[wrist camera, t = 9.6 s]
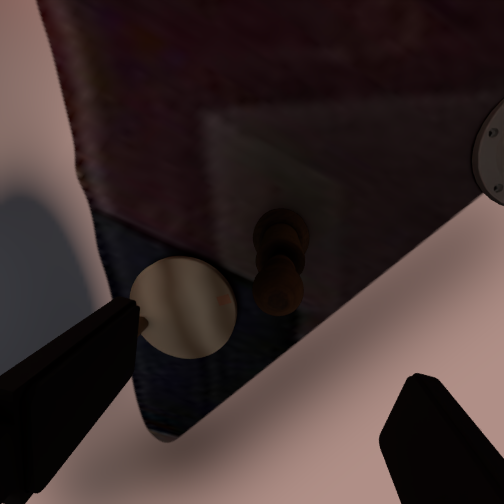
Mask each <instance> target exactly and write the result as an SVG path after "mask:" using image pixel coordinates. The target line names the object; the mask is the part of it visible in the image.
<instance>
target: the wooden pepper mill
mask: <svg viewBox="0 0 504 504" xmlns="http://www.w3.org/2000/svg"><path fill="white" fill-rule="evenodd" d="M253 243H254V247H255V249H256V251H257V255H256V266H257V269H258V271H259V273H258V274H257V276H256V277H255V280H254V282H253V290H252V291H253V297H254V300H255V302H256V304H257V305H258V307H259V308H260V309H261V310H263V311H264V312H266V313H267V314H270V315H273V316H284V315H287V314H290V313H292V312H293V311H294V310H296V309H297V307H298V306H299V305H300V303H301V301H302V298H303V293H304V288H303V282H302V280H301V278H300V276H299V275H300V274H301V273H302V271H303V269H304V266H305V256H304V254H305V252H306V250H307V248H308V244H309V232H308V229H307V226H306V224H305V223H304V221H303V219H302V218H301V217H300V216H299V215H298V214H296V213H295V212H293V211H291V210H288V209H274V210H271V211H269V212H267V213H265V214H264V215H263V216H262V217H261V218H260V219H259V221H258V223H257V224H256V226H255V229H254V233H253Z"/></svg>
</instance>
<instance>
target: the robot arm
mask: <svg viewBox="0 0 504 504" xmlns="http://www.w3.org/2000/svg"><path fill="white" fill-rule="evenodd" d="M472 166H473V173H474V176H475V179H476V182H477V184H478V185H479V187H480V189H481V190H482V192H483V193H484V194H485V195H486V196H488V197H489V198H490V199H491V200H493V201H495V202H496V203H498V204H499V205H502V206H504V99H503V100H502V101H501V102H500V103H499V104H498V105H497V106H496V107H495V108H494V109H493V110H492V111H491V113H490V114H489V116H488V117H487V118H486V120H485V121H484V123H483V125H482V127H481V129H480V131H479V133H478V135H477V137H476V141H475V144H474V147H473V155H472ZM139 317H140V306H138V305H137V303H136V301H135V300H132V299H128V298H124V297H116V298H115V299H113V300H112V301H110V302H109V303H107V304H106V305H104V306H103V307H101V308H100V309H98V310H97V311H95V312H94V313H92V314H91V315H89V316H88V317H87V318H85V319H84V320H82V321H81V322H79V323H78V324H76V325H75V326H73V327H72V328H70V329H69V330H67V331H66V332H64V333H63V334H61V335H60V336H58V337H57V338H55V339H54V340H52V341H51V342H50V343H48V344H47V345H45V346H44V347H42V348H41V349H39V350H38V351H36V352H35V353H33V354H32V355H30V356H29V357H27V358H26V359H24V360H23V361H21V362H20V363H18V364H17V365H15V366H14V367H13V368H11V369H10V370H8V371H7V372H5V373H4V374H2V375H1V376H0V504H2V503H4V504H25V503H26V502H27V501H28V499H29V498H30V497H31V496H32V494H33V493H39V492H41V491H42V490H43V489H44V488H45V487H46V485H47V484H48V483H49V482H50V481H51V479H52V478H53V477H54V476H55V474H56V473H57V471H58V470H59V469H60V468H61V467H62V465H63V464H64V463H65V461H66V460H67V459H68V458H69V456H70V455H71V454H72V452H73V451H74V450H75V449H76V447H77V446H78V445H79V444H80V442H81V441H82V440H83V438H84V437H85V436H86V434H87V433H88V432H89V431H90V429H91V428H92V427H93V426H94V424H95V423H96V422H97V420H98V419H99V418H100V417H101V415H102V414H103V413H104V412H105V410H106V409H107V408H108V406H109V405H110V404H111V403H112V401H113V400H114V399H115V397H116V396H117V395H118V393H119V392H120V391H121V389H122V388H123V387H124V386H125V384H126V383H127V382H128V381H129V379H130V378H131V376H132V374H133V371H134V367H135V357H136V347H137V337H138V327H139ZM379 445H380V449H381V452H382V454H383V457H384V459H385V462H386V465H387V467H388V470H389V473H390V475H391V478H392V480H393V483H394V486H395V488H396V491H397V494H398V496H399V499H400V501H401V504H504V458H503V457H502V456H501V455H500V454H499V452H498V451H497V450H496V449H495V447H494V446H493V445H492V444H491V443H490V441H489V440H488V439H487V438H486V437H485V435H484V434H483V433H482V432H481V430H480V429H479V428H478V427H477V425H476V424H475V423H474V422H473V421H472V419H471V418H470V417H469V416H468V415H467V413H466V412H465V411H464V410H463V408H462V407H461V406H460V405H459V404H458V403H457V401H456V400H455V399H454V398H453V396H452V395H451V394H450V393H449V391H448V390H447V389H446V388H445V387H444V385H443V384H442V383H441V382H440V381H439V380H438V379H437V378H435V377H431V376H427V375H424V374H419V373H415V374H413V376H410V377H408V378H407V380H406V382H405V384H404V386H403V388H402V390H401V392H400V394H399V396H398V398H397V400H396V402H395V404H394V406H393V409H392V411H391V413H390V415H389V417H388V419H387V421H386V423H385V425H384V427H383V429H382V431H381V433H380V436H379Z"/></svg>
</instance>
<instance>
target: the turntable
mask: <svg viewBox="0 0 504 504" xmlns="http://www.w3.org/2000/svg"><path fill="white" fill-rule="evenodd" d="M130 299H132V300H135V301H136V303H137V305H138V306H140V317H139V327H138V336H139V335H140V334H142V336H143V337H144V338H145V339H146V340H147V341H148V342H149V343H150V344H151V345H153V346H154V347H155V348H157V349H159V350H160V351H162V352H164V353H166V354H169V355H171V356H175V357H179V358H187V359H192V358H201V357H205V356H208V355H210V354H212V353H214V352H216V351H217V350H219V349H220V348H221V347H222V346H223V345H224V344H225V343H226V342H227V341H228V339H229V337H230V336H231V333H232V331H233V328H234V326H235V322H236V318H237V302H236V298H235V294H234V292H233V290H232V287H231V286H230V284H229V282H228V281H227V280H226V278H225V277H224V276H223V275H222V274H221V273H220V272H219V271H218V270H217V269H216V268H214V267H213V266H211V265H210V264H208V263H206V262H204V261H202V260H200V259H197V258H193V257H188V256H172V257H167V258H164V259H161V260H159V261H157V262H155V263H154V264H152V265H150V266H149V267H147V268H146V269H145V270H143V271H142V272H141V273H140V275H139V276H138V277H137V278H136V280H135V282H134V284H133V286H132V289H131V293H130Z"/></svg>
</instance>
